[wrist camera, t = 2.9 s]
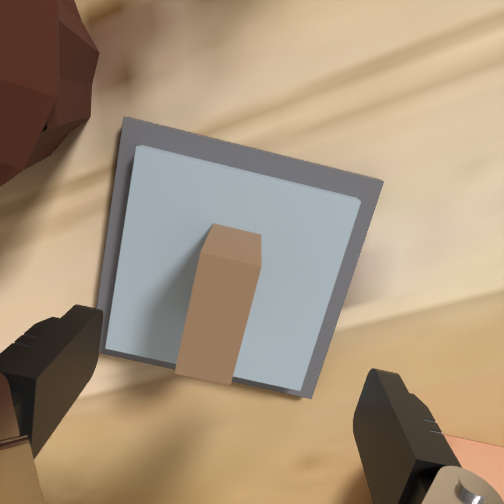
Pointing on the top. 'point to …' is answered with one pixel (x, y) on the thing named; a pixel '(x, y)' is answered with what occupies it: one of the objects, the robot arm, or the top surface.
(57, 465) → the top surface
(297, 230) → the lid
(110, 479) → the top surface
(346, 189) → the mat
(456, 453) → the dish
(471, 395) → the top surface
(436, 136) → the top surface
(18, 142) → the muffin
